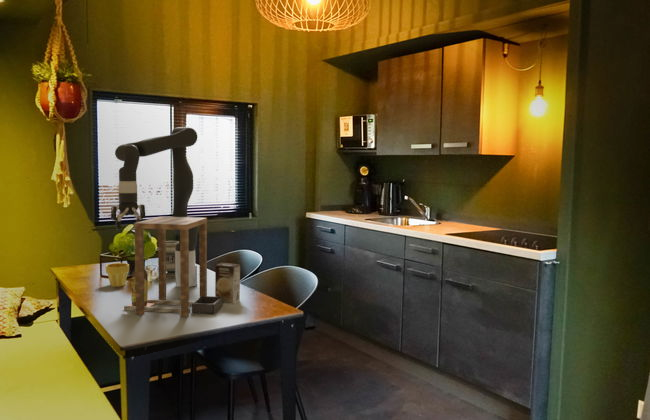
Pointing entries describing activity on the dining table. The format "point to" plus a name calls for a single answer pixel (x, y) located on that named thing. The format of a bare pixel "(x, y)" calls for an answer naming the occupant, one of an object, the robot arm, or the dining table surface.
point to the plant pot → (117, 273)
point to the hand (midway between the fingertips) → (128, 229)
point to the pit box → (207, 305)
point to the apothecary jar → (170, 259)
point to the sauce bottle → (144, 287)
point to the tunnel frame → (162, 225)
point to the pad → (147, 304)
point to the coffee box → (227, 282)
